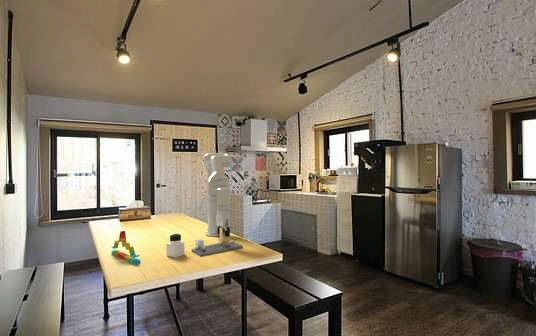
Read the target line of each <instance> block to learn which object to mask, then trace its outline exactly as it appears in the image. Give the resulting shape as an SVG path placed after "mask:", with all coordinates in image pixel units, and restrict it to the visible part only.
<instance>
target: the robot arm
mask: <svg viewBox="0 0 536 336" xmlns="http://www.w3.org/2000/svg"><path fill="white" fill-rule="evenodd" d="M203 164H204V166H205V168H206V174H207V182H206V196H205V199H206V206H207V207H206V208H207V229H206V230H207V232H206V233H205V236H206V237H220V227H225V237H231V227H232V223H231V216H230V202H231V186H230V180H229V178H228V177H227V176H225V168H230V167H231V165H232V158H231V155H229V154H228V153H225V152H224V153H223V152H220V153H219V152H208V153H205V155H203Z"/></svg>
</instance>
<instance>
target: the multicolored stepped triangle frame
mask: <svg viewBox="0 0 536 336" xmlns="http://www.w3.org/2000/svg"><path fill="white" fill-rule="evenodd" d="M118 237H119V238H118V239H117V240H114V243H113V246H111V248H112V249H113V250H111V255H114V256H115V257H118V258H120V259H122V260H124V261H126V262H129V263H130V264H133V265H138V264H141V259H139V258H138V257H139V256H140V254H136V252H135V248H134V246H131V244H130V242H127V236H126V230H121V231H120V232H119V236H118ZM120 243H121V246H122V248H125V250H126V251H129V254H127V253H125V252H123V251H120V250H118V248H119V245H120Z"/></svg>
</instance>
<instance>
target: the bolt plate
mask: <svg viewBox="0 0 536 336" xmlns="http://www.w3.org/2000/svg"><path fill="white" fill-rule="evenodd" d="M243 247H244V246H243V244H240V243H238V242H235V240H232V239H231V240H229V246H228V244H226V243H220V242H216V243H211V244H205V241H204V240H203V239H196V240H195V247H194V248H192V249H191V252H192V253H193V254H195V255H196V256H199V257H204V256H209V255H215V254H218V253H219V254H220V253H224V252H229V251H234V250H238V249H243Z"/></svg>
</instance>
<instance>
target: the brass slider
mask: <svg viewBox="0 0 536 336" xmlns="http://www.w3.org/2000/svg"><path fill="white" fill-rule="evenodd" d="M229 241H230V238H228V237H225V227H220V236H219V238H218V241H217V243H226V244H228V246H229Z"/></svg>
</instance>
